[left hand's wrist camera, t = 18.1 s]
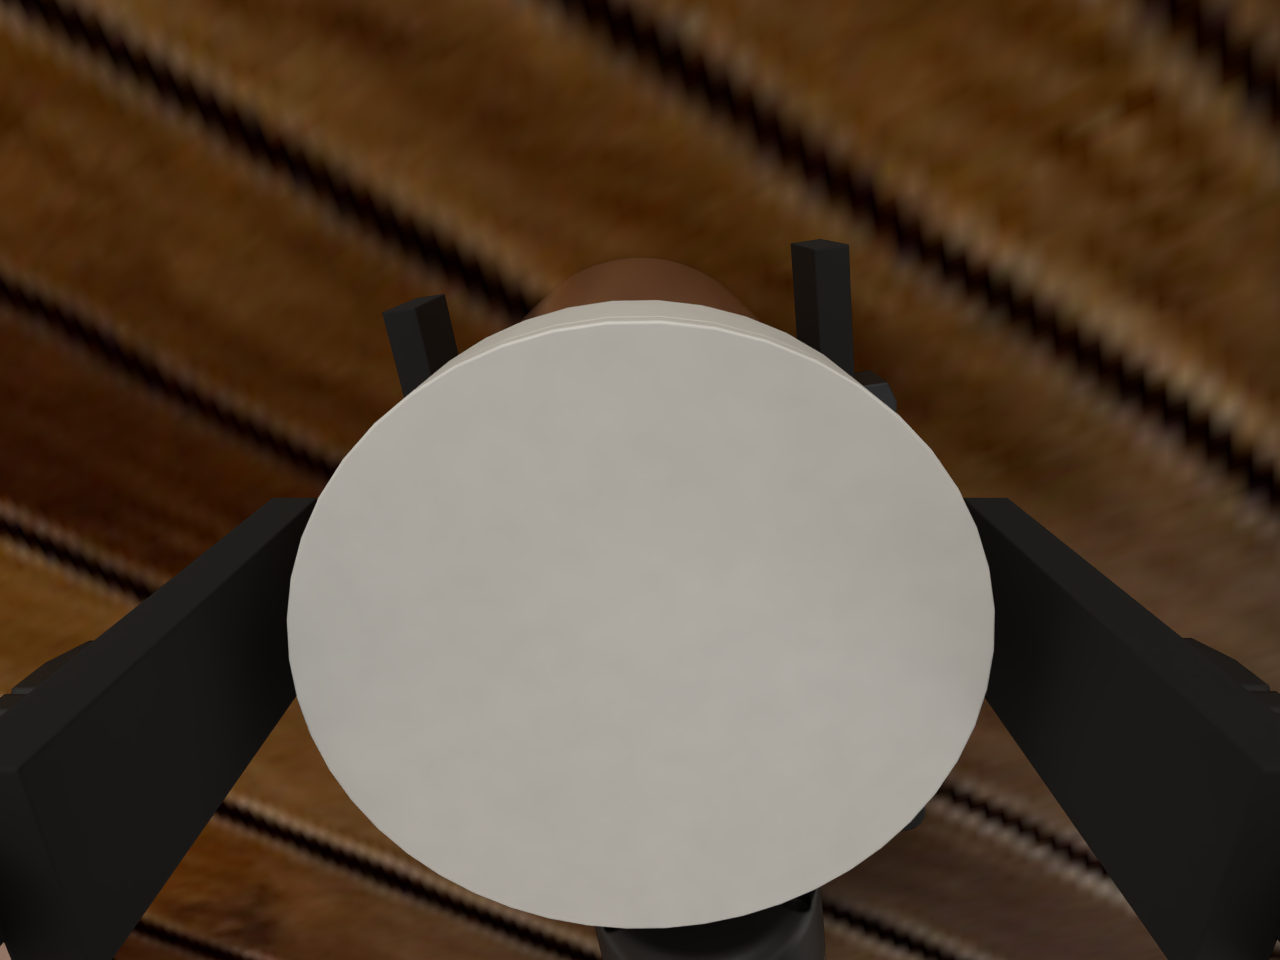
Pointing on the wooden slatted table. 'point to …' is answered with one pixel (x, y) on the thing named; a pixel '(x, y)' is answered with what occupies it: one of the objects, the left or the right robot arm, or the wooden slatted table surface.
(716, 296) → the jar
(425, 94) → the wooden slatted table surface
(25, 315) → the wooden slatted table surface
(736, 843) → the lid
